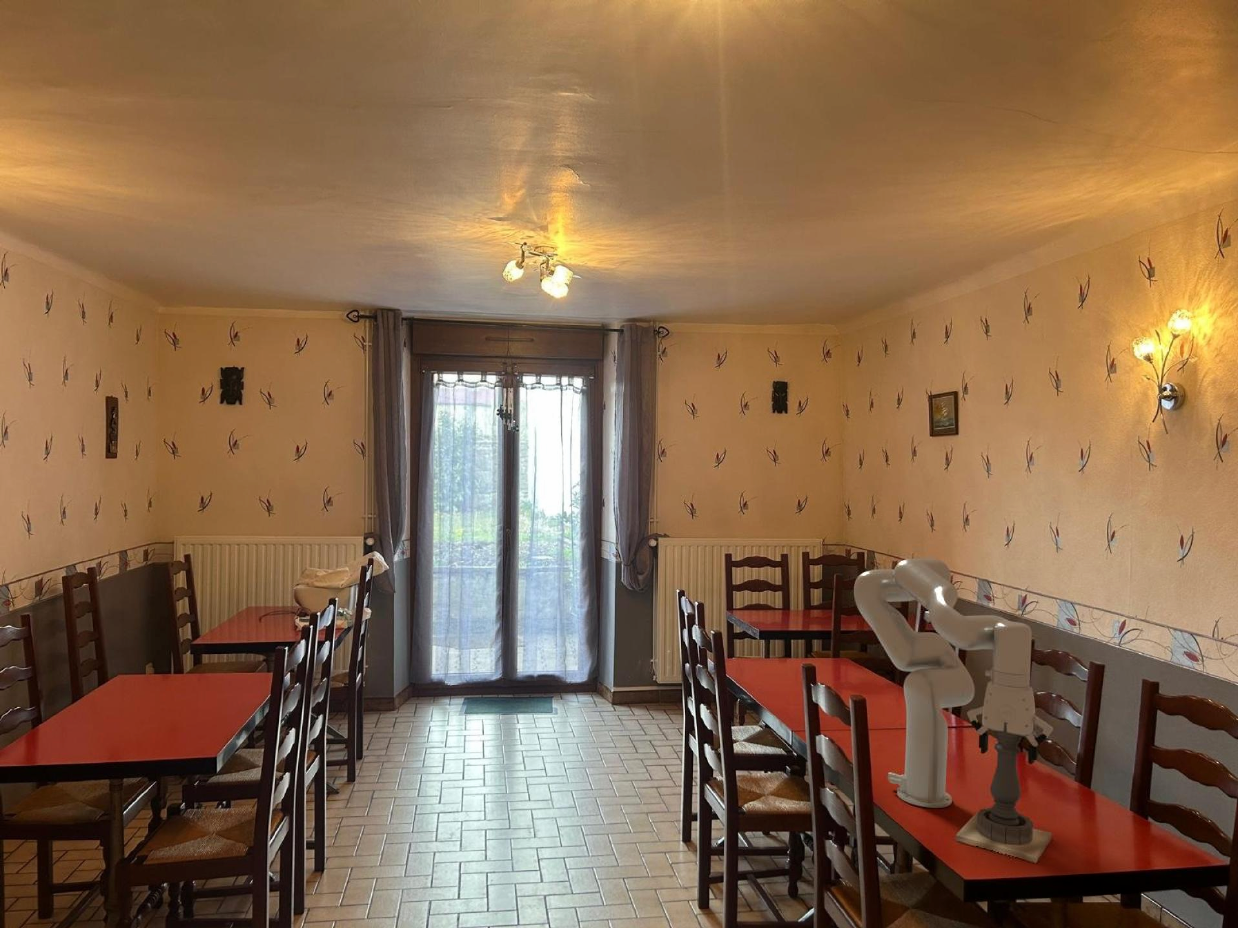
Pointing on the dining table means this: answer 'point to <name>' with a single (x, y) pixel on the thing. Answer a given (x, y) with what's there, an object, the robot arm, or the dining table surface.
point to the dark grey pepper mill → (1005, 780)
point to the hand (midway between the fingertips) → (1007, 757)
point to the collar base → (1005, 836)
